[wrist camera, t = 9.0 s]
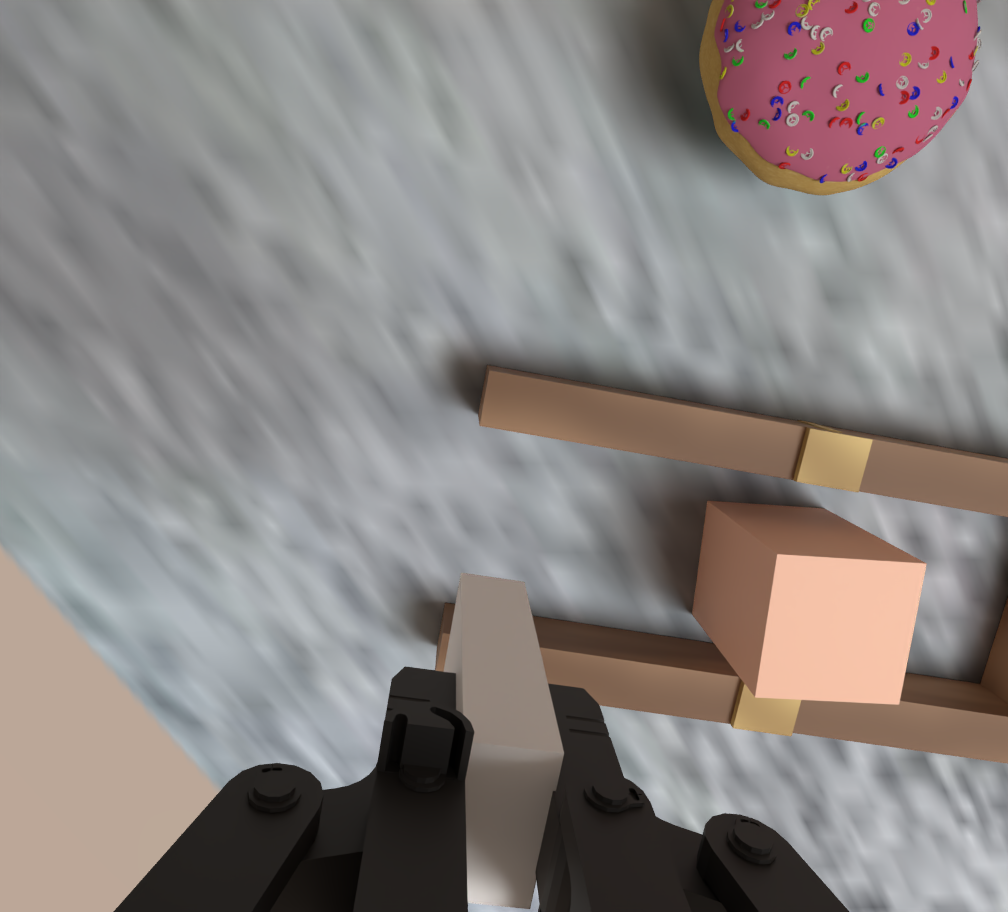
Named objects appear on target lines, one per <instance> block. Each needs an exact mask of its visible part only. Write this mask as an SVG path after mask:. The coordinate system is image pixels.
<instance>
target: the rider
mask: <svg viewBox="0 0 1008 912" xmlns="http://www.w3.org/2000/svg"><path fill="white" fill-rule="evenodd" d="M925 569H926V563H924V562H923V561H921V560H919V559H917V558H915V557H913V556H911V555H910V554H908V553H906V552H904V551H902V550H900V549H899V548H897V547H895V546H893V545H891V544H889V543H887V542H886V541H884V540H882V539H880V538H878V537H876V536H874V535H873V534H871V533H869V532H867V531H865V530H863V529H861V528H860V527H858V526H856V525H854V524H852V523H850V522H848V521H847V520H845V519H843V518H841V517H839V516H837V515H835V514H834V513H832V512H830V511H828V510H826V509H824V508H810V507H795V506H780V505H765V504H751V503H736V502H721V501H707V507H706V515H705V522H704V529H703V537H702V544H701V552H700V559H699V566H698V574H697V581H696V589H695V596H694V603H693V611H692V615H693V616H694V618H695V619H696V620H697V622H698V623H699V624H700V625H701V627H702V628H703V629H704V631H705V632H706V633H707V635H708V636H709V637H710V639H711V640H712V641H713V643H714V644H715V645H716V647H717V648H718V649H719V651H720V652H721V653H722V655H723V656H724V657H725V658H726V660H727V661H728V662H729V664H730V665H731V666H732V668H733V669H734V670H735V672H736V673H737V674H738V676H739V677H740V678H741V680H742V681H743V682H744V684H745V685H746V686H747V688H748V689H749V690H750V692H751V693H752V694H753V695H754V697H755V698H775V699H795V700H815V701H835V702H855V703H875V704H896V705H899V702H900V697H901V692H902V687H903V682H904V677H905V672H906V667H907V661H908V656H909V651H910V646H911V641H912V636H913V631H914V625H915V620H916V615H917V610H918V605H919V600H920V595H921V589H922V584H923V579H924V574H925Z"/></svg>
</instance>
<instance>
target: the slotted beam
mask: <svg viewBox="0 0 1008 912" xmlns="http://www.w3.org/2000/svg"><path fill="white" fill-rule="evenodd" d="M478 417H479V424H480V426H484V427H490V428H496V429H501V430H507V431H513V432H519V433H525V434H530V435H536V436H542V437H548V438H553V439H559V440H565V441H571V442H577V443H582V444H588V445H594V446H600V447H606V448H611V449H617V450H623V451H629V452H634V453H640V454H646V455H652V456H658V457H663V458H669V459H675V460H681V461H687V462H692V463H698V464H704V465H710V466H715V467H721V468H727V469H733V470H739V471H744V472H750V473H756V474H762V475H767V476H773V477H779V478H785V479H791V480H794V481H796V482H801V483H807V484H813V485H819V486H824V487H830V488H836V489H842V490H848V491H853V492H859V491H860V492H866V493H872V494H877V495H883V496H889V497H895V498H901V499H906V500H912V501H918V502H924V503H929V504H935V505H941V506H947V507H953V508H958V509H964V510H970V511H976V512H982V513H987V514H993V515H999V516H1005V517H1008V459H1007V458H1002V457H996V456H991V455H985V454H979V453H974V452H968V451H963V450H957V449H952V448H946V447H941V446H935V445H929V444H924V443H918V442H913V441H907V440H902V439H896V438H891V437H885V436H879V435H874V434H868V433H863V432H857V431H852V430H846V429H841V428H835V427H829V426H824V425H818V424H815V423H812V422H806V421H801V420H798V421H796V420H791V419H785V418H779V417H774V416H768V415H763V414H757V413H752V412H746V411H741V410H735V409H729V408H724V407H718V406H713V405H707V404H702V403H696V402H691V401H685V400H679V399H674V398H668V397H663V396H657V395H652V394H646V393H641V392H635V391H630V390H624V389H618V388H613V387H607V386H602V385H596V384H591V383H585V382H580V381H574V380H568V379H563V378H557V377H552V376H546V375H541V374H535V373H530V372H524V371H518V370H513V369H507V368H502V367H496V366H491V365H487V368H486V374H485V379H484V385H483V391H482V396H481V402H480V407H479V413H478ZM454 609H455V604H451V603H445V605H444V611H443V616H442V622H441V628H440V633H439V639H438V645H437V654H436V666H435V671H442V672H444V666H445V660H446V655H447V649H448V643H449V638H450V632H451V626H452V621H453V615H454ZM532 617H533V621H534V626H535V630H536V634H537V639H538V643H539V647H540V652H541V656H542V660H543V665H544V669H545V673H546V677H547V682H548V684H556V685H563V686H571V687H578V688H584V689H585V690H586V691H587V692H588V693H589V694H590V695H591V696H592V697H593V699H594V700H595V701H596V702H597V703H598V704H599V705H602V706H609V707H616V708H623V709H630V710H637V711H644V712H651V713H658V714H665V715H672V716H679V717H686V718H693V719H700V720H707V721H714V722H721V723H728V724H731V726H732V727H733V728H736V729H743V730H750V731H757V732H764V733H771V734H778V735H786V736H792V733H798V734H805V735H812V736H819V737H826V738H833V739H840V740H847V741H854V742H861V743H868V744H875V745H882V746H889V747H896V748H903V749H910V750H917V751H924V752H931V753H938V754H945V755H952V756H959V757H966V758H973V759H980V760H987V761H994V762H1001V763H1008V598H1007V601H1006V605H1005V608H1004V611H1003V614H1002V617H1001V620H1000V623H999V626H998V630H997V633H996V636H995V639H994V642H993V645H992V648H991V651H990V655H989V658H988V661H987V664H986V667H985V670H984V673H983V676H982V680H981V683H980V684H978V683H971V682H965V681H958V680H951V679H945V678H938V677H932V676H925V675H918V674H912V673H905V677H904V682H903V687H902V692H901V697H900V702H899V705H896V704H875V703H855V702H835V701H815V700H795V699H775V698H755V697H754V695H753V694H752V693H751V692H750V690H749V689H748V688H747V686H746V685H745V684H744V682H743V681H742V680H741V678H740V677H739V676H738V674H737V673H736V672H735V670H734V669H733V668H732V666H731V665H730V664H729V662H728V661H727V660H726V658H725V657H724V656H723V655H722V653H721V652H720V651H719V649H718V648H717V647H716V645H715V644H714V643H708V642H701V641H695V640H688V639H681V638H675V637H668V636H662V635H655V634H649V633H642V632H635V631H629V630H622V629H616V628H609V627H602V626H596V625H589V624H583V623H576V622H570V621H563V620H556V619H550V618H543V617H537V616H532Z"/></svg>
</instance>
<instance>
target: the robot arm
mask: <svg viewBox="0 0 1008 912" xmlns="http://www.w3.org/2000/svg"><path fill="white" fill-rule="evenodd" d="M536 880H537V888H538V895H539V902H540V905H539V909H538V912H849V911H848V910H847V909H846V907H845V906H844V905H843V904H842V903H841V902H840V901H839V900H838V898H837V897H836V896H835V895H834V894H833V893H832V892H831V890H830V889H829V888H828V887H827V886H826V885H825V884H824V883H823V881H822V880H821V879H820V878H819V877H818V876H817V875H816V873H815V872H814V871H813V870H812V869H811V868H810V867H809V866H808V864H807V863H806V862H805V861H804V860H803V859H802V858H801V856H800V855H799V854H798V853H797V852H796V851H795V850H794V849H793V847H792V846H791V845H790V844H789V843H788V842H787V841H786V840H785V839H784V838H783V837H781V836H780V835H779V834H778V833H777V832H776V831H775V830H773V829H772V828H770V827H768V826H766V825H765V824H763V823H761V822H760V821H758V820H755V819H753V818H749V817H746V816H743V815H737V814H726V813H724V814H720V815H717V816H713V817H712V818H711V819H710V820H709V821H708V822H707V823H706V824H705V828H704V832H703V835H701V834H699V833H696V832H693V831H690V830H687V829H684V828H681V827H678V826H675V825H673V824H670V823H668V822H666V821H663V820H661V819H659V818H658V817H656V816H655V813H654V811H653V808H652V805H651V803H650V801H649V799H648V798H647V796H646V795H645V793H644V792H643V791H642V790H641V789H640V788H639V787H638V786H636V785H635V784H634V783H633V782H632V781H630V780H628V779H626V778H624V776H623V773H622V770H621V767H620V764H619V762H618V759H617V756H616V753H615V750H614V747H613V744H612V741H611V738H610V737H609V732H608V730H607V727H606V724H605V723H604V718H603V715H602V712H601V709H600V706H599V704H598V703H597V702H596V701H595V700H594V699H593V697H592V696H591V695H590V694H589V693H588V692H587V691H586V690H585V689H584V688H578V687H571V686H563V685H556V684H548V682H547V677H546V673H545V669H544V665H543V660H542V656H541V652H540V647H539V643H538V639H537V634H536V630H535V626H534V621H533V617H532V613H531V608H530V604H529V600H528V596H527V591H526V587H525V583H524V582H521V581H515V580H508V579H501V578H494V577H487V576H480V575H473V574H467V573H461V576H460V581H459V587H458V592H457V598H456V604H455V609H454V615H453V621H452V626H451V632H450V638H449V643H448V649H447V655H446V660H445V666H444V672H442V671H435V670H427V669H420V668H412V667H404V668H403V669H402V670H401V671H400V672H399V673H398V674H397V675H396V676H394V677H393V678H392V681H391V687H390V693H389V699H388V705H387V711H386V717H385V720H384V726H383V732H382V738H381V744H380V751H379V757H378V762H377V764H376V767H375V768H374V770H373V771H372V772H371V773H370V774H369V775H368V776H367V777H365V778H364V779H362V780H361V781H359V782H356V783H354V784H351V785H349V786H345V787H340V788H335V789H327V790H322V787H321V783H320V781H319V780H318V779H317V778H316V777H315V776H314V775H313V774H312V773H311V772H309V771H306V770H304V769H302V768H300V767H297V766H294V765H287V764H280V763H274V764H264V765H258V766H255V767H252V768H249V769H247V770H244V771H242V772H240V773H239V774H238V775H236V776H235V777H234V778H233V779H231V780H230V781H229V782H228V783H227V784H226V785H225V786H224V787H223V789H222V790H221V791H220V792H219V793H218V794H217V795H216V797H215V798H214V799H213V800H212V801H211V802H210V803H209V804H208V806H207V807H206V808H205V809H204V810H203V811H202V812H201V814H200V815H199V816H198V817H197V818H196V819H195V820H194V821H193V823H192V824H191V825H190V826H189V827H188V828H187V829H186V830H185V832H184V833H183V834H182V835H181V836H180V837H179V838H178V839H177V841H176V842H175V843H174V844H173V845H172V846H171V847H170V849H169V850H168V851H167V852H166V853H165V854H164V855H163V856H162V858H161V859H160V860H159V861H158V862H157V864H155V866H154V867H153V868H152V869H151V870H150V871H149V872H148V873H147V875H146V876H145V877H144V878H143V879H142V880H141V881H140V882H139V884H138V885H137V886H136V887H135V888H134V889H133V890H132V892H131V893H130V894H129V895H128V896H127V897H126V898H125V900H124V901H123V902H122V903H121V904H120V905H119V906H118V907H117V908H116V910H115V911H114V912H468V903H475V904H485V905H495V906H505V907H514V908H524V909H530V907H531V902H532V898H533V893H534V888H535V884H536Z"/></svg>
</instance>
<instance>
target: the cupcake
mask: <svg viewBox="0 0 1008 912" xmlns="http://www.w3.org/2000/svg"><path fill="white" fill-rule="evenodd" d="M981 1H982V0H712V2H711V5H710V8H709V12H708V17H707V22H706V26H705V30H704V33H703V37H702V41H701V46H700V53H699V65H700V73H701V77H702V82H703V86H704V90H705V94H706V97H707V100H708V103H709V106H710V109H711V112H712V116H713V121H714V125H715V129H716V132H717V134H718V136H719V137H720V139H721V140H722V141H723V142H724V144H725V145H726V146H727V147H728V148H729V149H730V150H731V151H732V152H733V153H734V154H735V155H736V156H737V157H738V158H739V159H740V160H741V161H742V162H743V163H744V164H745V165H746V166H747V167H748V168H749V169H750V170H751V171H752V172H753V173H754V174H755V175H756V176H757V177H758V178H759V179H761V180H762V181H764V182H766V183H768V184H770V185H773V186H777V187H782V188H787V189H792V190H796V191H800V192H804V193H808V194H814V195H830V194H835V193H840V192H845V191H849V190H853V189H856V188H859V187H862V186H864V185H867V184H869V183H871V182H874V181H876V180H878V179H880V178H881V177H883V176H885V175H886V174H888V173H890V172H891V171H892V170H894V169H895V168H896V167H898V166H899V165H900V164H902V163H903V162H904V161H906V160H907V159H908V158H910V157H912V156H913V155H915V154H916V153H918V152H919V151H920V150H921V149H923V148H924V147H925V146H926V145H927V144H928V143H929V142H930V141H931V140H932V139H933V138H934V137H935V136H936V135H937V134H938V133H939V131H940V130H941V129H942V128H943V126H944V125H945V124H946V123H947V122H948V120H949V119H950V118H951V117H952V116H953V114H954V113H955V112H956V110H957V109H958V108H959V106H960V105H961V104H962V102H963V101H964V99H965V97H966V95H967V93H968V91H969V88H970V84H971V81H972V79H971V77H972V72H973V71H974V70H975V68H976V67H977V65H978V64H979V60H978V61H976V63H975V64H974V59H975V53H976V51H977V50H979V49H980V47H981V40H980V38H979V37H978V35H979V34H980V33H981V30H980V26H979V27H978V18H977V3H979V2H981ZM978 42H979V44H978ZM977 45H978V46H977Z"/></svg>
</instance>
